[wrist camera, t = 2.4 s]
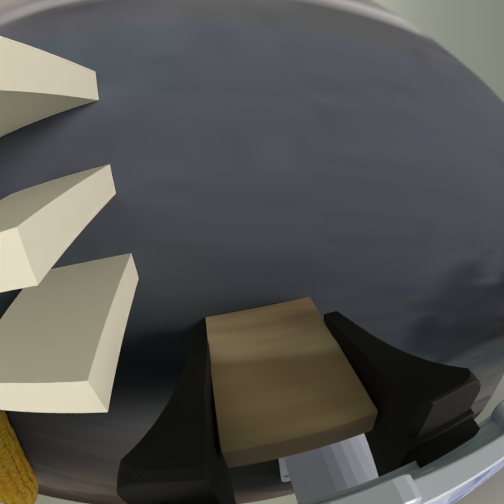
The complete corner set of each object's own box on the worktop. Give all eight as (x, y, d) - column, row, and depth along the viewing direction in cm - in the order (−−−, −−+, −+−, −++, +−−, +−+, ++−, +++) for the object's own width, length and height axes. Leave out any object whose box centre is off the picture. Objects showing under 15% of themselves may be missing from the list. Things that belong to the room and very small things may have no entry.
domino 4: (309, 316, 15) (372, 430, 9) (210, 336, 15) (228, 468, 8) (309, 296, 15) (377, 411, 8) (205, 317, 14) (221, 452, 8)
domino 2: (115, 193, 11) (37, 285, 5) (18, 219, 11) (-82, 308, 4) (109, 164, 11) (16, 227, 4) (10, 194, 10) (-99, 268, 4)
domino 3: (138, 278, 13) (107, 412, 7) (45, 294, 12) (-18, 407, 6) (131, 253, 13) (87, 380, 6) (36, 272, 12) (-39, 380, 6)
